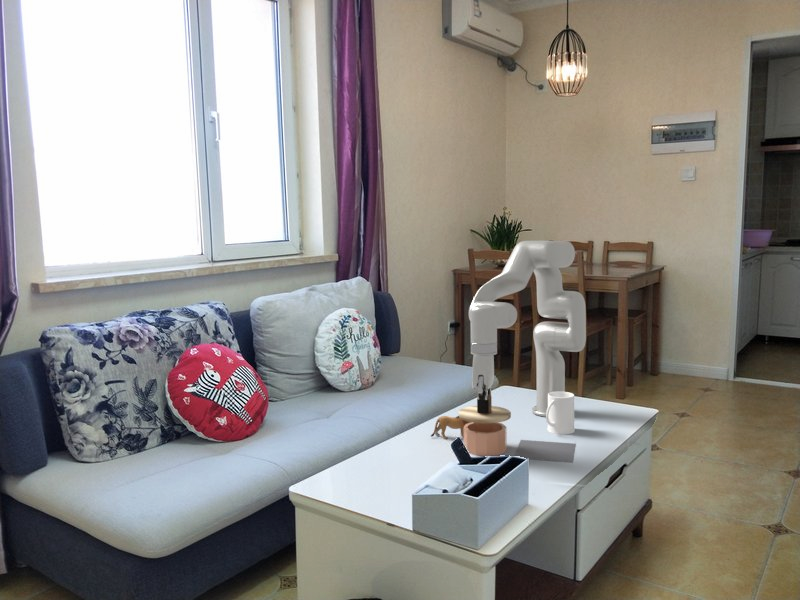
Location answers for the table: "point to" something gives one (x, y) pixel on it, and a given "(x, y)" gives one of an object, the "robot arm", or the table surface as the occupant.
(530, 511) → the table surface
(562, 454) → the mat
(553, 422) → the mug
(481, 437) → the bowl
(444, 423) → the lion figurine
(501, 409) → the lid
